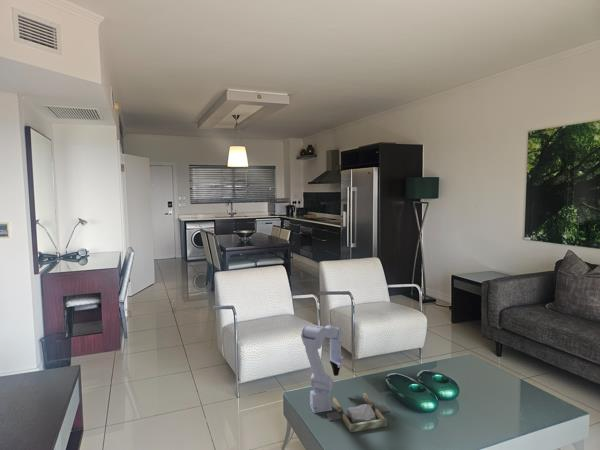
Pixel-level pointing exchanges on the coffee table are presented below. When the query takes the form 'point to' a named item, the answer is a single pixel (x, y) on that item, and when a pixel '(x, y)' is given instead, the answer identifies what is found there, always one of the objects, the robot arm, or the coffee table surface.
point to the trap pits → (336, 416)
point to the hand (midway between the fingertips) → (336, 375)
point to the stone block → (361, 413)
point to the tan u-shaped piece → (363, 425)
